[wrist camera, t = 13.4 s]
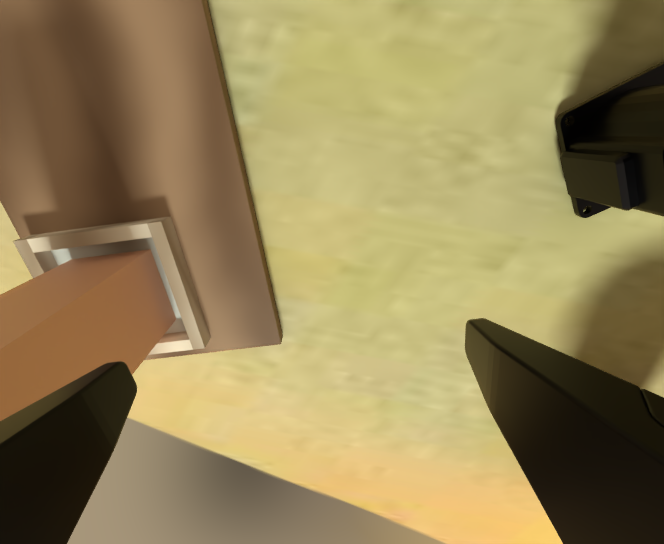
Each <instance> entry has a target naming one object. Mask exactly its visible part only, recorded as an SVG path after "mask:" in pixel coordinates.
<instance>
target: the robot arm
mask: <svg viewBox="0 0 664 544" xmlns="http://www.w3.org/2000/svg"><path fill="white" fill-rule="evenodd" d="M568 117H569V123H568V125H565V120H566V118H568ZM556 129H557V134H558V139H559V143H560V148H561V152H562V154H561V157H560V159H561V163H562V168H563V172H564V177H565V182H566V186H567V191H568V194H569V195H570V196H571V198H572V203H573V208H574V212H575V214H576V215H577V216H579V217H582V218H587V217H590V216H592V215H595V214H597V213H599V212H601V211H604V210H606V209H608V208H610V207H614V208H618V209H622V210H630V209H636V210H640V211H644V212H648V213H652V214H656V215H660V216H664V62H662V63H660V64H658V65H656V66H654V67H652V68H650V69H648V70H646V71H644V72H642V73H640V74H638V75H636V76H634V77H632V78H630V79H628V80H626V81H624V82H622V83H620V84H618V85H616V86H615V87H613V88H611V89H609V90H607V91H605V92H603V93H601V94H599V95H597V96H595V97H593V98H591V99H589V100H587V101H585V102H583V103H581V104H579V105H577V106H575V107H573V108H571V109H569V110H567V111H565V112H563V113H562V114H560V115H559V116H558V118H557V120H556ZM586 206H587V209H586V211H584V212H583V209H584V208H585V207H586ZM465 351H466V355H467V358H468V360H469V363H470V365H471V367H472V370H473V372H474V375H475V377H476V379H477V382H478V384H479V387H480V389H481V391H482V394H483V396H484V399H485V401H486V403H487V406H488V408H489V410H490V412H491V414H492V416H493V418H494V419H495V421H496V423H497V425H498V427H499V428H500V430H501V432H502V434H503V436H504V438H505V439H506V441H507V443H508V445H509V447H510V448H511V450H512V452H513V454H514V456H515V457H516V459H517V461H518V463H519V465H520V466H521V468H522V470H523V472H524V474H525V475H526V477H527V479H528V481H529V483H530V485H531V486H532V488H533V490H534V492H535V494H536V495H537V497H538V499H539V501H540V503H541V504H542V506H543V508H544V510H545V512H546V513H547V515H548V517H549V519H550V521H551V522H552V524H553V526H554V528H555V530H556V531H557V533H558V535H559V537H560V539H561V541H562V542H563V544H664V398H663V397H661V396H659V395H657V394H654V393H652V392H650V391H648V390H645V389H641V390H640V388H639V387H638V386H636V385H634V384H632V383H629V382H627V381H625V380H623V379H620V378H618V377H616V376H613V375H611V374H609V373H607V372H604V371H602V370H600V369H598V368H595V367H593V366H591V365H589V364H586V363H584V362H582V361H580V360H577V359H575V358H573V357H571V356H568V355H566V354H564V353H562V352H559V351H557V350H555V349H552V348H550V347H548V346H546V345H543V344H541V343H539V342H537V341H534V340H532V339H530V338H528V337H525V336H523V335H521V334H519V333H516V332H514V331H512V330H510V329H507V328H505V327H503V326H501V325H498V324H496V323H494V322H491V321H489V320H487V319H484V318H480V319H471V320H468V321H467V323H466V333H465ZM136 393H137V385H136V383H135V380H134V378H133V376H132V374H131V372H130V370H129V368H128V366H127V364H126V363H125V362H122V361H117V362H109V363H105V364H103V365H102V366H100V367H98V368H96V369H94V370H92V371H91V372H89V373H87V374H85V375H83V376H82V377H80V378H78V379H76V380H74V381H72V382H71V383H69V384H67V385H65V386H63V387H62V388H60V389H58V390H56V391H54V392H52V393H51V394H49V395H47V396H45V397H43V398H42V399H40V400H38V401H36V402H34V403H32V404H31V405H29V406H27V407H25V408H23V409H22V410H20V411H18V412H16V413H14V414H12V415H11V416H9V417H7V418H5V419H3V420H2V421H0V544H67V542H68V540H69V538H70V536H71V534H72V532H73V530H74V528H75V526H76V524H77V523H78V521H79V519H80V517H81V515H82V512H83V511H84V508H85V507H86V505H87V503H88V500H89V499H90V497H91V495H92V493H93V491H94V489H95V487H96V485H97V483H98V481H99V479H100V477H101V475H102V473H103V471H104V469H105V467H106V465H107V463H108V461H109V459H110V457H111V455H112V453H113V451H114V448H115V446H116V444H117V441H118V439H119V436H120V434H121V431H122V429H123V426H124V423H125V421H126V419H127V416H128V414H129V411H130V409H131V406H132V404H133V401H134V399H135V396H136Z"/></svg>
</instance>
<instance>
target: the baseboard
mask: <svg viewBox="0 0 664 544" xmlns="http://www.w3.org/2000/svg"><path fill="white" fill-rule="evenodd" d="M0 201H1V203H2V205H3V207H4V208H5V210H6V212H7V214H8V216H9V218H10V220H11V222H12V223H13V225H14V227H15V229H16V231H17V233H18V235H19V237H20V238H21V239H18V240H15V241H13V242H14V244H15V246H16V248H17V250H18V252H19V253H20V255H21V257H22V259H23V261H24V263H25V264H26V266H27V268H28V270H29V272H30V274H31V275H32V277H33V278H35V277H37V276H39V275H41V274H43V273H45V272H47V271H49V270H51V269H53V268H55V267H57V266H59V265H61V264H63V263H65V262H67V261H69V260H71V259H78V258H86V257H93V256H101V255H109V254H117V253H125V252H133V251H141V250H149V249H151V252H152V254H153V257H154V260H155V262H156V265H157V268H158V271H159V273H160V276H161V279H162V281H163V284H164V287H165V290H166V292H167V295H168V298H169V300H170V303H171V306H172V308H173V311H174V314H175V317H176V320H175V322H174V323H173V324H172V325H171V327H170V328H169V329H168V330H167V332H166V333H165V334H164V335H163V337H162V338H161V339H160V340H159V342H158V343H157V344H156V345H155V347H154V348H153V349H152V350H151V352H150V353H149V354H148V355H147V357H146V358H145V359H144V360H149V359H157V358H166V357H175V356H183V355H192V354H200V353H209V352H217V351H226V350H235V349H243V348H252V347H260V346H269V345H277V344H281V342H282V337H283V335H282V330H281V326H280V321H279V317H278V312H277V308H276V304H275V299H274V295H273V290H272V286H271V281H270V277H269V273H268V268H267V264H266V259H265V255H264V250H263V246H262V242H261V237H260V233H259V228H258V224H257V219H256V215H255V211H254V206H253V202H252V197H251V193H250V188H249V184H248V180H247V175H246V171H245V166H244V162H243V158H242V153H241V149H240V144H239V140H238V135H237V131H236V127H235V122H234V118H233V113H232V109H231V104H230V100H229V96H228V91H227V87H226V82H225V78H224V73H223V69H222V65H221V60H220V56H219V51H218V47H217V42H216V38H215V34H214V29H213V25H212V20H211V16H210V11H209V7H208V3H207V0H0Z"/></svg>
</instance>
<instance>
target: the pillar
mask: <svg viewBox="0 0 664 544" xmlns="http://www.w3.org/2000/svg"><path fill="white" fill-rule="evenodd" d="M175 320H176V317H175V314H174V311H173V308H172V306H171V303H170V300H169V298H168V295H167V292H166V290H165V287H164V284H163V281H162V279H161V276H160V273H159V271H158V268H157V265H156V262H155V260H154V257H153V254H152V252H151V249H149V250H141V251H133V252H125V253H117V254H109V255H101V256H93V257H86V258H78V259H71V260H69V261H67V262H65V263H63V264H61V265H59V266H57V267H55V268H53V269H51V270H49V271H47V272H45V273H43V274H41V275H39V276H37V277H35V278H33V279H31V280H29V281H27V282H25V283H23V284H21V285H19V286H17V287H15V288H13V289H11V290H9V291H7V292H5V293H3V294H1V295H0V421H2V420H3V419H5V418H7V417H9V416H11V415H12V414H14V413H16V412H18V411H20V410H22V409H23V408H25V407H27V406H29V405H31V404H32V403H34V402H36V401H38V400H40V399H42V398H43V397H45V396H47V395H49V394H51V393H52V392H54V391H56V390H58V389H60V388H62V387H63V386H65V385H67V384H69V383H71V382H72V381H74V380H76V379H78V378H80V377H82V376H83V375H85V374H87V373H89V372H91V371H92V370H94V369H96V368H98V367H100V366H102V365H103V364H105V363H109V362H117V361H122V362H125V363H126V364H127V366H128V368H129V370H130V372H131V374H133V373H134V372H135V370H136V369H137V368H138V367H139V365H140V364H141V363H142V362H143V360H144V359H145V358H146V357H147V355H148V354H149V353H150V352H151V350H152V349H153V348H154V347H155V345H156V344H157V343H158V342H159V340H160V339H161V338H162V337H163V335H164V334H165V333H166V332H167V330H168V329H169V328H170V327H171V325H172V324H173V323H174V322H175Z"/></svg>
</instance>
